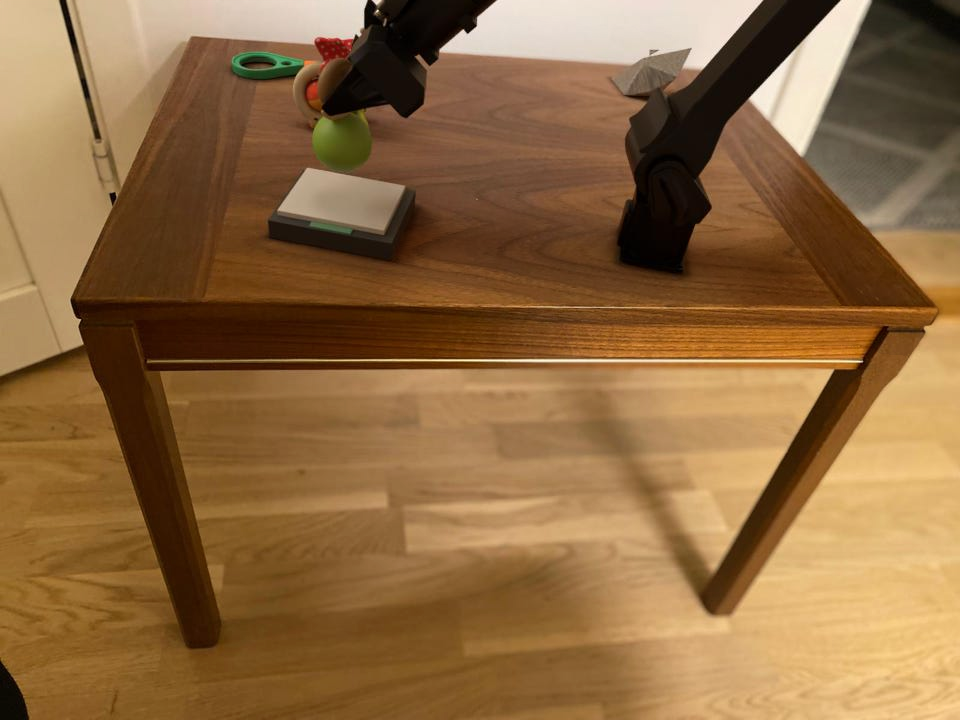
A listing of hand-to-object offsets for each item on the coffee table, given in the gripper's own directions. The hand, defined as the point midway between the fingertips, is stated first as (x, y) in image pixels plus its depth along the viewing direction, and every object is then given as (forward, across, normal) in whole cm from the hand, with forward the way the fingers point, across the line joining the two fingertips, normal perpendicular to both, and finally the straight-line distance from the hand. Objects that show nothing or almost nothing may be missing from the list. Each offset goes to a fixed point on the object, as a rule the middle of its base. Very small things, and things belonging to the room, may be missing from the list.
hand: (329, 98), depth 66 cm
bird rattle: (+11, -20, +7) cm, 24 cm away
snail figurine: (+4, 0, +6) cm, 7 cm away
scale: (+8, 0, +10) cm, 13 cm away
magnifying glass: (+17, -34, +1) cm, 38 cm away
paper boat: (-18, -42, +37) cm, 59 cm away
